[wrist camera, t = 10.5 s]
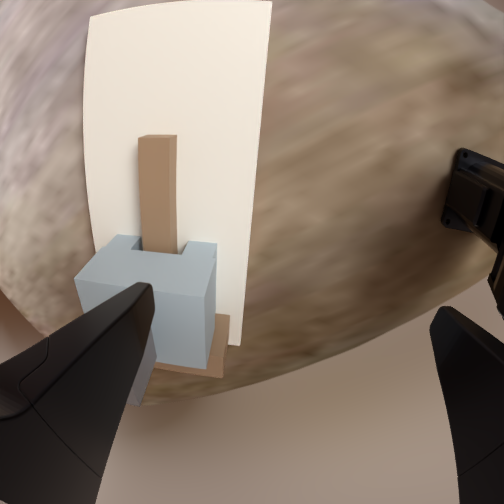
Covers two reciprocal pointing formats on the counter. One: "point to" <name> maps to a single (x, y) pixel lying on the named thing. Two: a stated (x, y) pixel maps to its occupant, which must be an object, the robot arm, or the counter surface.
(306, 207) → the counter surface
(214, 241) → the mounting board
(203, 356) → the cabinet block
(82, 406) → the robot arm
